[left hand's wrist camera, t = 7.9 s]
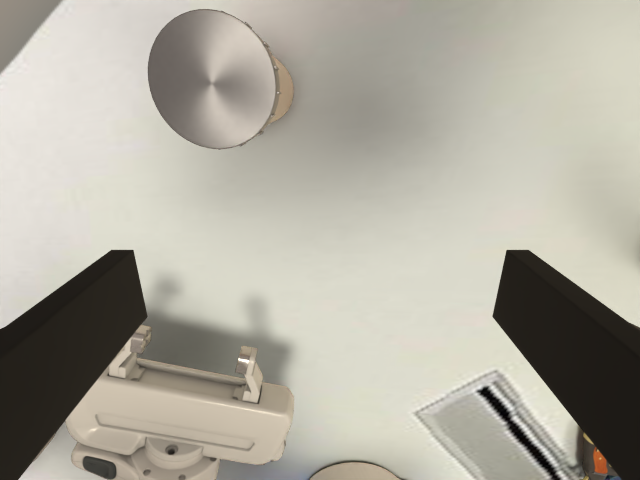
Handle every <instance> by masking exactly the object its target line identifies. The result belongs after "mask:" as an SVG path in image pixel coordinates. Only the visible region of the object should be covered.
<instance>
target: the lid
mask: <svg viewBox="0 0 640 480" xmlns="http://www.w3.org/2000/svg"><path fill="white" fill-rule="evenodd" d="M268 47H269V46H268V44H267V43H266V42H263V40H262V39H261V38H260V37H259V36H258V35H257V34H256V33H255V32H254V31H253V30H252V27H250V26H249V25H248V24H247V23H246V22H245V23H244V22H242V21H241V20H239V19H237V18H236V17H234V16H232V15H229V14H227V13H225V12H224V11H217V10H210V9H199V10H193V11H189V12H186V13H183V14H181V15H179V16H177V17H176V18H174V19H173V20H171V21H170V22H169V23H168V24H167V25H166V26H165V27H164V28H163V29H162V30H161V32H160V33H159V35H158V36H157V38H156V40H155V42H154V44H153V46H152V49H151V52H150V56H149V62H148V81H149V86H150V91H151V94H152V98H153V100H154V102H155V105H156V107H157V109H158V111H159V112H160V114H161V116H162V117H163V118H164V120H165V121H166V122H167V124H168V125H169V126H170V127H171V128H172V129H173V130H174V131H175V132H177V133H178V134H179V135H180V136H182V137H183V138H185V139H186V140H188V141H190V142H192V143H194V144H197V145H199V146H202V147H206V148H213V149H226V148H232V147H235V146H239V145H240V146H242V145H244V144H246V142H247V141H249V140H251V139H252V138H254V137H255V136H257V135H260V134H262V133H263V130H264V129H265V128H266V127H267V125H268V124H269V123H270V121H271V119H272V118H273V117H274V116H275V115H276V114H275V111H276V108H277V105H278V101H279V96H280V94H281V92H280V79H279V74H278V70H279V68H278V67H277V66H276V63H275V60H274V58H273V56H272V54H271V52H270V50H269V49H268Z"/></svg>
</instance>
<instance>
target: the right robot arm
mask: <svg viewBox="0 0 640 480" xmlns="http://www.w3.org/2000/svg"><path fill="white" fill-rule="evenodd" d="M151 331H152V327H149V326H145V325H140V327H139V328H138V329H137V330H136V332H135V333H134V334H133V335H132V337H131V338H130V339H129V340H128V342H127V343H126V344H125V346H124V347H123V348H122V349H121V351H120V352H119V353H118V354H117V356H116V357H115V358H114V359H113V361H112V362H111V363H110V364H109V366H108V367H107V368H106V369H105V371H104V372H103V373H102V375H101V376H100V377H99V378H98V380H97V381H96V382H95V383H94V385H93V386H92V387H91V388H90V390H89V391H88V392H87V393H86V395H85V396H84V397H83V398H82V400H81V401H80V402H79V404H78V405H77V406H76V407H75V409H74V410H73V411H72V412H71V414H70V415H69V416H68V417H67V419H66V420H65V422H66V426H67V429H68V431H69V433H70V435H71V436H72V437H73V438H74V439H75V440H76V441H78V442H77V444H76V446H75V448H74V450H73V452H72V455H71V460H72V463H73V464H74V465H75V466H76V467H78V468H80V469H83V470H86V471H88V472H91V473H93V474H96V475H98V476H100V477H103V478H105V479H107V480H216V477H217V473H218V469H219V464H220V460H221V459H224V460H230V461H236V462H242V463H248V464H255V465H264V464H265V463H267V462H271V461H277V460H279V459H280V458H281V456H282V454H283V451H284V448H285V445H286V441H285V438H286V436H287V434H288V431H289V429H290V426H291V423H292V419H293V411H294V396H293V394H292V392H291V391H290V389H289V388H288V387H285V386H281V385H275V384H270V383H265V382H262V379H263V375H262V373H261V371H260V369H259V367H258V365H257V363H256V362H255V359H256V354H257V350H258V348H252V347H247V346H242V347H241V351H240V354H239V357H238V361H237V366H236V371H235V372H236V373H241V374H244V376H245V378H246V379H244V378H239V377H234V376H229V375H224V374H219V373H214V372H208V371H203V370H198V369H193V368H188V367H183V366H177V365H172V364H167V363H162V362H157V361H152V360H147V359H141V358H137V353H139V354H142V353H143V351H144V350H145V346H147V345H148V344H149V342H150V341H151V334H150V332H151ZM310 480H401V479H399V478H397V477H396V476H395V475H393V474H392V473H391V472H389V471H388V470H386V469H384V468H381V467H379V466H376V465H373V464H368V463H360V462H349V463H341V464H336V465H333V466H330V467H327V468H325V469H323V470H321V471H319V472H318V473H316V474H315V475H314V476H312V477H311V478H310Z"/></svg>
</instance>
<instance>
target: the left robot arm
mask: <svg viewBox="0 0 640 480" xmlns="http://www.w3.org/2000/svg"><path fill="white" fill-rule="evenodd" d="M146 318H147V312H146V308H145V303H144V298H143V293H142V289H141V284H140V279H139V274H138V270H137V265H136V260H135V256H134V251H133V250H111V251H109V252H108V253H107V254H105V255H104V256H103V257H101V258H100V259H98V260H97V261H96V262H94V263H93V264H92V265H90V266H89V267H87V268H86V269H85V270H83V271H82V272H80V273H79V274H78V275H76V276H75V277H74V278H72V279H71V280H69V281H68V282H67V283H65V284H64V285H63V286H61V287H60V288H58V289H57V290H56V291H54V292H53V293H51V294H50V295H49V296H47V297H46V298H45V299H43V300H42V301H40V302H39V303H38V304H36V305H35V306H34V307H32V308H31V309H29V310H28V311H27V312H25V313H24V314H22V315H21V316H20V317H18V318H17V319H16V320H14V321H13V322H11V323H10V324H9V325H7V326H6V327H4V328H2V329H0V480H18V479H19V478H20V477H21V475H22V474H23V473H24V472H25V470H26V469H27V468H28V467H29V465H30V464H31V463H32V462H33V460H34V459H35V458H36V456H37V455H38V454H39V453H40V451H41V450H42V449H43V448H44V446H45V445H46V444H47V443H48V441H49V440H50V439H51V438H52V436H53V435H54V434H55V433H56V431H57V430H58V429H59V427H60V426H61V425H62V424H63V422H64V421H65V420H66V419H67V417H68V416H69V415H70V414H71V412H72V411H73V410H74V409H75V407H76V406H77V405H78V404H79V402H80V401H81V400H82V398H83V397H84V396H85V395H86V393H87V392H88V391H89V390H90V388H91V387H92V386H93V385H94V383H95V382H96V381H97V380H98V378H99V377H100V376H101V375H102V373H103V372H104V371H105V369H106V368H107V367H108V366H109V364H110V363H111V362H112V361H113V359H114V358H115V357H116V356H117V354H118V353H119V352H120V351H121V349H122V348H123V347H124V346H125V344H126V343H127V342H128V340H129V339H130V338H131V337H132V335H133V334H134V333H135V332H136V330H137V329H138V328H139V327H140V325H141V324H142V323H143V322H144V320H145V319H146ZM493 318H494V319H495V320H496V322H497V323H498V324H499V325H500V327H501V328H502V329H503V330H504V332H505V333H506V334H507V335H508V337H509V338H510V339H511V340H512V342H513V343H514V344H515V346H516V347H517V348H518V349H519V351H520V352H521V353H522V354H523V356H524V357H525V358H526V359H527V361H528V362H529V363H530V364H531V366H532V367H533V368H534V369H535V371H536V372H537V373H538V375H539V376H540V377H541V378H542V380H543V381H544V382H545V383H546V385H547V386H548V387H549V388H550V390H551V391H552V392H553V393H554V395H555V396H556V397H557V398H558V400H559V401H560V402H561V404H562V405H563V406H564V407H565V409H566V410H567V411H568V412H569V414H570V415H571V416H572V417H573V419H574V420H575V421H576V422H577V424H578V425H579V426H580V427H581V429H582V430H583V431H584V433H585V434H586V435H587V436H588V438H589V439H590V440H591V441H592V443H593V444H594V445H595V446H596V448H597V449H598V450H599V451H600V453H601V454H602V455H603V456H604V458H605V459H606V460H607V462H608V463H609V464H610V465H611V467H612V468H613V469H614V470H615V472H616V473H617V474H618V475H619V477H620V478H621V479H622V480H640V328H639V327H637V326H635V325H633V324H631V323H629V322H627V321H626V320H624V319H623V318H622V317H620V316H619V315H618V314H616V313H615V312H613V311H612V310H611V309H609V308H608V307H606V306H605V305H604V304H602V303H601V302H600V301H598V300H597V299H595V298H594V297H593V296H591V295H590V294H589V293H587V292H586V291H584V290H583V289H582V288H580V287H579V286H577V285H576V284H575V283H573V282H572V281H571V280H569V279H568V278H566V277H565V276H564V275H562V274H561V273H560V272H558V271H557V270H555V269H554V268H553V267H551V266H550V265H548V264H547V263H546V262H544V261H543V260H542V259H540V258H539V257H537V256H536V255H535V254H533V253H532V252H531V251H529V250H507V251H506V256H505V260H504V265H503V270H502V274H501V279H500V284H499V289H498V293H497V298H496V303H495V307H494V312H493Z"/></svg>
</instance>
